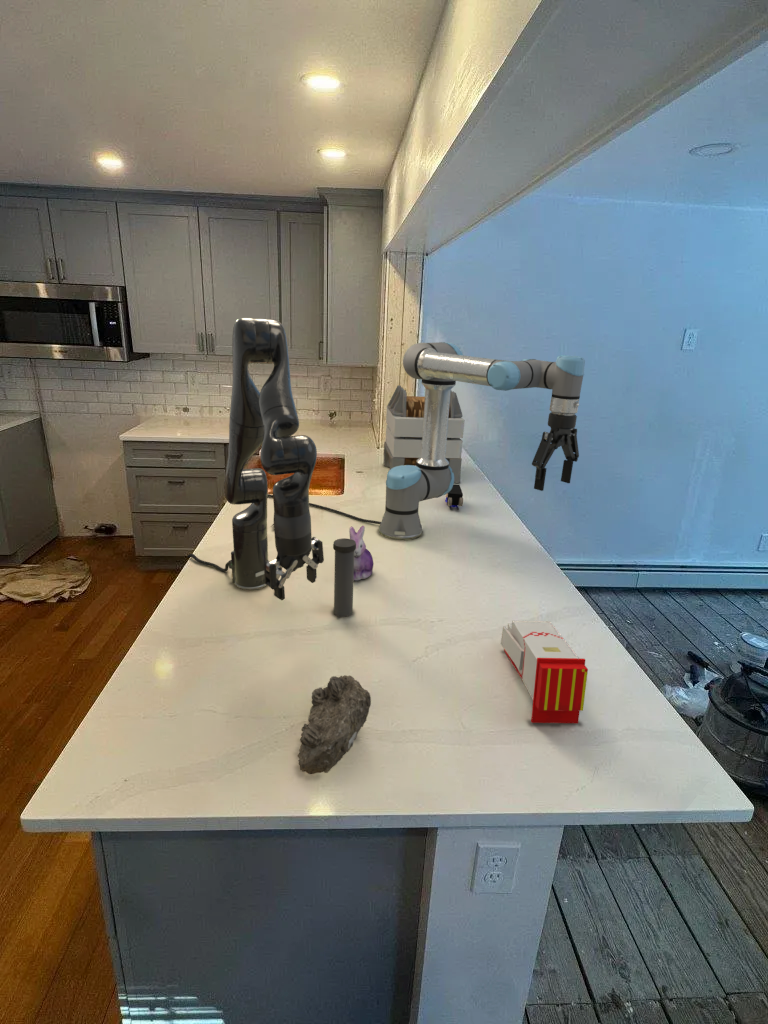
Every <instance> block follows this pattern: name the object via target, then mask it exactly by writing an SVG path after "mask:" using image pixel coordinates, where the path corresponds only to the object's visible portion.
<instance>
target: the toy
mask: <svg viewBox="0 0 768 1024" xmlns="http://www.w3.org/2000/svg"><path fill="white" fill-rule="evenodd" d="M500 645H501V646H502V648H503V652H504V654H505V655H506V657H507V658H508V660H509V661H510V663H511V664H512V666H513V668H514V669H515V671H516V672H517V674H518V676H519V677H520V679H521V680H522V683H523V685H524V686H525V688H526V690H527V692H528V694H529V696H530V697H531V699H532V708H531V719H530V722H531V723H532V724H579V719H580V712H583V711H584V706H585V697H586V689H587V680H588V671H589V669H588V667H587V666H586V659H585V658H580V657H579V656H578V655H577V654H576V652H575V651H574V650H573V648H572V647H571V646H570V645H569V644H568V642H567V641H566V640H565V638H564V637H563V636H562V634H561V633H560V632H559V631H558V630H557V628H556V627H555V626H554V624H553V623H552V622H551V621H549V620H548V621H545V620H540V621H539V620H511V622H508V623H507V626H502V632H501V638H500Z"/></svg>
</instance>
